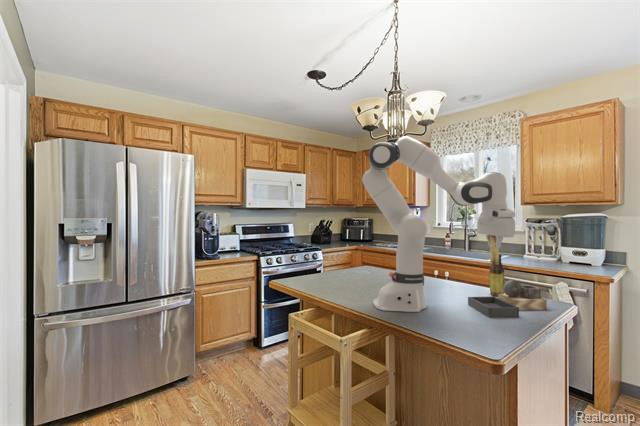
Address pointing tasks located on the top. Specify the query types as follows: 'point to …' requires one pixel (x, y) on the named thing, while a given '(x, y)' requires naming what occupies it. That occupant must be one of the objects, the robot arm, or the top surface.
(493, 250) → the pin
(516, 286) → the block
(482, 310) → the tray
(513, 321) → the top surface
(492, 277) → the sauce bottle
